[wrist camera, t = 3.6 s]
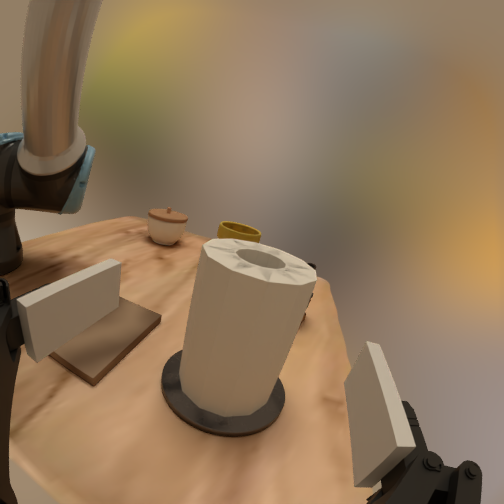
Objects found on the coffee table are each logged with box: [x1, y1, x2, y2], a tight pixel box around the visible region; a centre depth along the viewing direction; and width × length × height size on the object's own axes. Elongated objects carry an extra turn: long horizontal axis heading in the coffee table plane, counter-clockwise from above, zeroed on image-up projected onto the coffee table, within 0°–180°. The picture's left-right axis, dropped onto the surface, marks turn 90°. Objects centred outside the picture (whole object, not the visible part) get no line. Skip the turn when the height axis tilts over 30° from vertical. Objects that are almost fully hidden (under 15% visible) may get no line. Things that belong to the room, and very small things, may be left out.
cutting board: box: [49, 297, 161, 386], centre depth 30 cm, size 16×16×1 cm
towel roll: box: [179, 239, 317, 417], centre depth 26 cm, size 10×10×15 cm
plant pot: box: [217, 221, 261, 243], centre depth 67 cm, size 10×10×10 cm
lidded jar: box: [147, 207, 188, 245], centre depth 71 cm, size 11×11×9 cm
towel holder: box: [161, 350, 285, 437], centre depth 27 cm, size 14×14×13 cm
